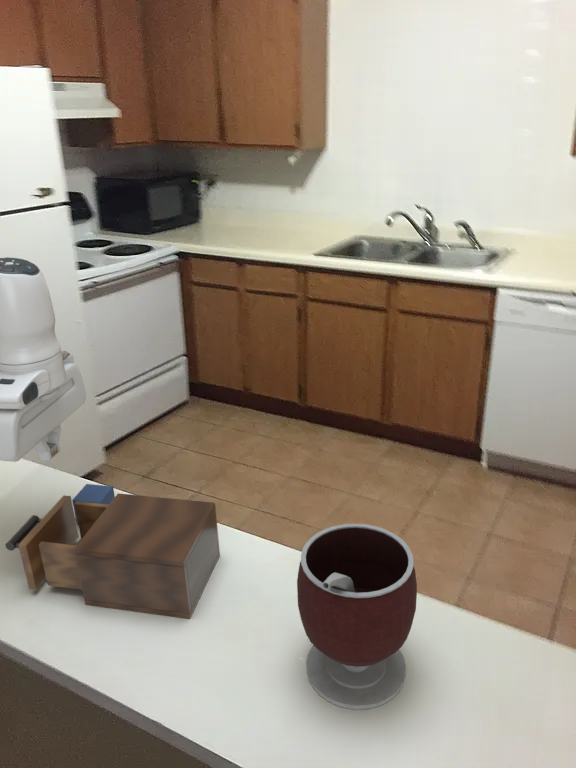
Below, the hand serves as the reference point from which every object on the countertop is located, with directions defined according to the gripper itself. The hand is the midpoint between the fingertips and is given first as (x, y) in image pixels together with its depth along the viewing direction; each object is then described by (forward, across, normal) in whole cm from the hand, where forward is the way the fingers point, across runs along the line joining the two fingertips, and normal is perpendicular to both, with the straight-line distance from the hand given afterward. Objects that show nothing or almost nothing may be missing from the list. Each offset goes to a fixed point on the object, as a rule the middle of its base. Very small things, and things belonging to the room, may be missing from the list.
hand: (50, 456), depth 101 cm
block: (+16, -8, +1) cm, 18 cm away
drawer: (+16, +5, +5) cm, 17 cm away
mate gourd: (+17, +17, +48) cm, 54 cm away
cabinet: (+17, +5, +17) cm, 24 cm away
